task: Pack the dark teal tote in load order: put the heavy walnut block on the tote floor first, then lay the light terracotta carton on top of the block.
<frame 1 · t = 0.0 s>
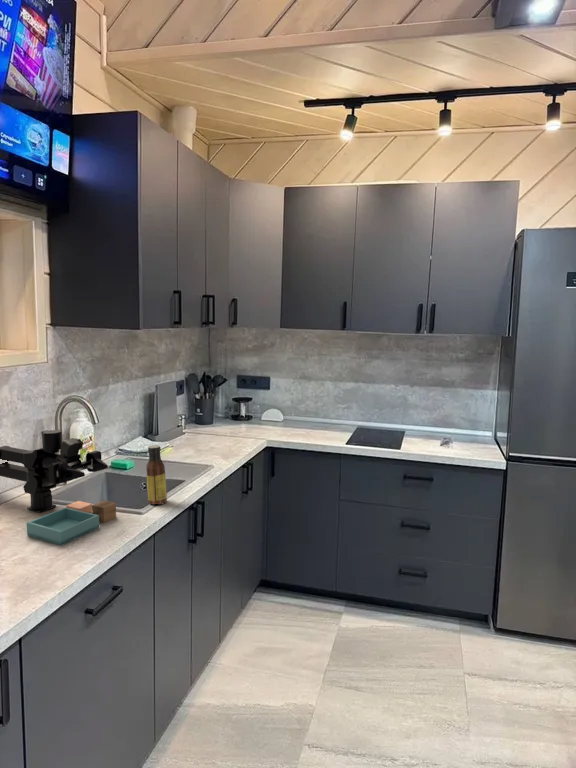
hand: (96, 470, 164), 17 cm above the counter, tool horizontal, fingers open, 9 cm apart
tote: (64, 531, 159), on the counter
walnut block: (104, 519, 169), on the counter
terracotta carton: (79, 513, 174), on the counter
sauce bottle: (157, 503, 184), on the counter
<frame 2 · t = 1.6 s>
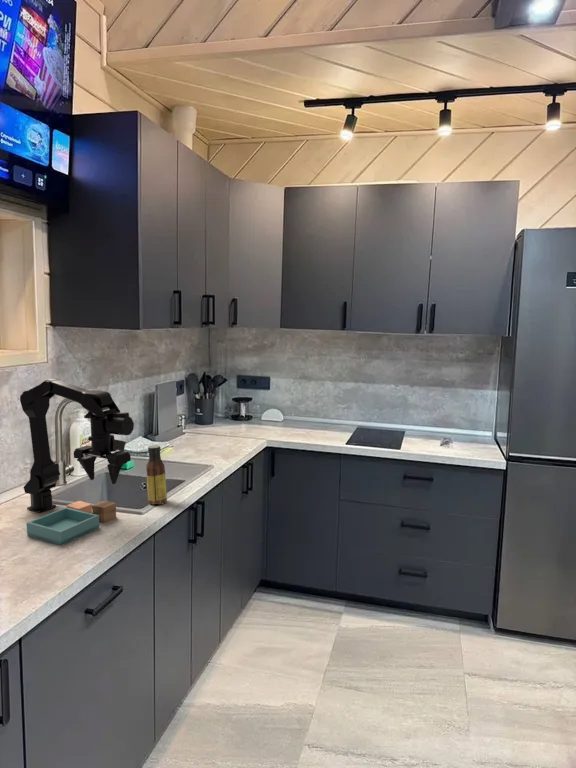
hand: (103, 481, 168), 12 cm above the counter, tool pointing down, fingers open, 9 cm apart
nothing on the counter moved.
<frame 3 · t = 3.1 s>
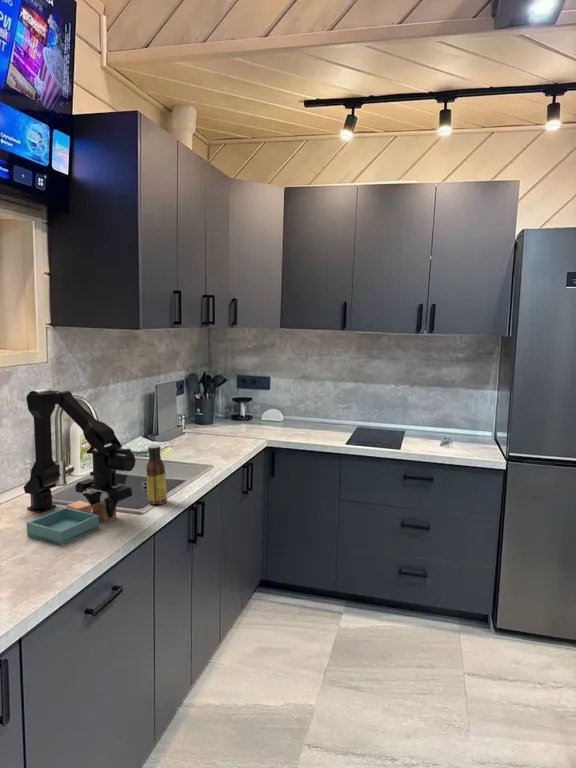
hand: (104, 515, 169), 1 cm above the counter, tool pointing down, fingers closed on walnut block, 5 cm apart
walnut block: (104, 518, 169), on the counter, touching gripper
everything else where it was.
when the fingers open (4 cm above the counter, at t = 7.4 s): walnut block drops 2 cm, resting on tote.
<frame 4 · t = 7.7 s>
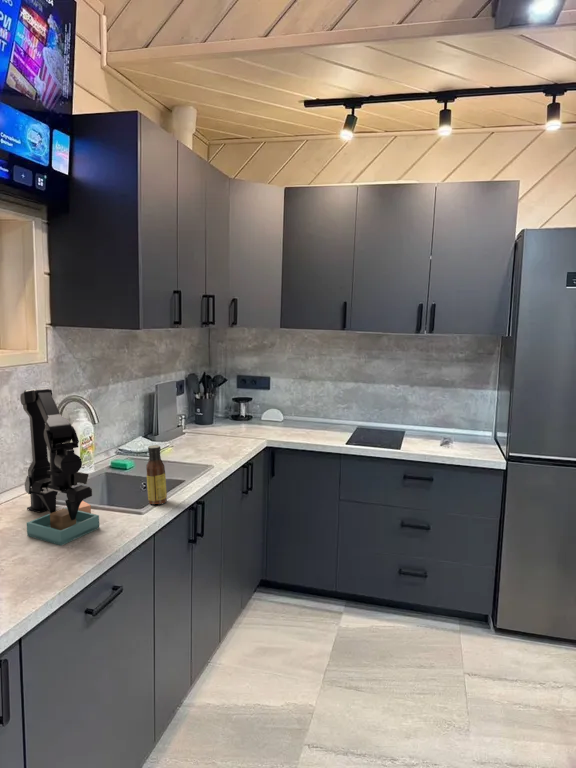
hand: (63, 517, 159), 4 cm above the counter, tool pointing down, fingers open, 8 cm apart
walnut block: (63, 528, 159), point 1 cm above the counter, touching tote
everything else where it was.
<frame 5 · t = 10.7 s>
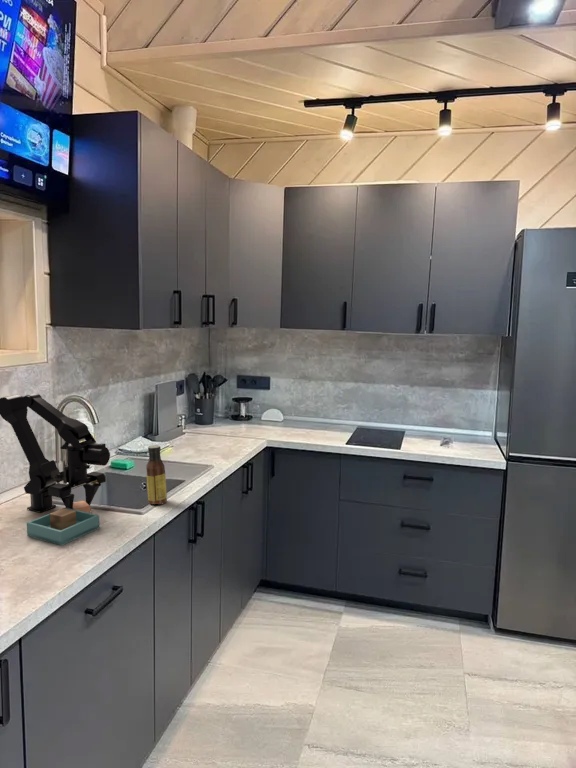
hand: (79, 509, 174), 1 cm above the counter, tool pointing down, fingers open, 7 cm apart
nothing on the counter moved.
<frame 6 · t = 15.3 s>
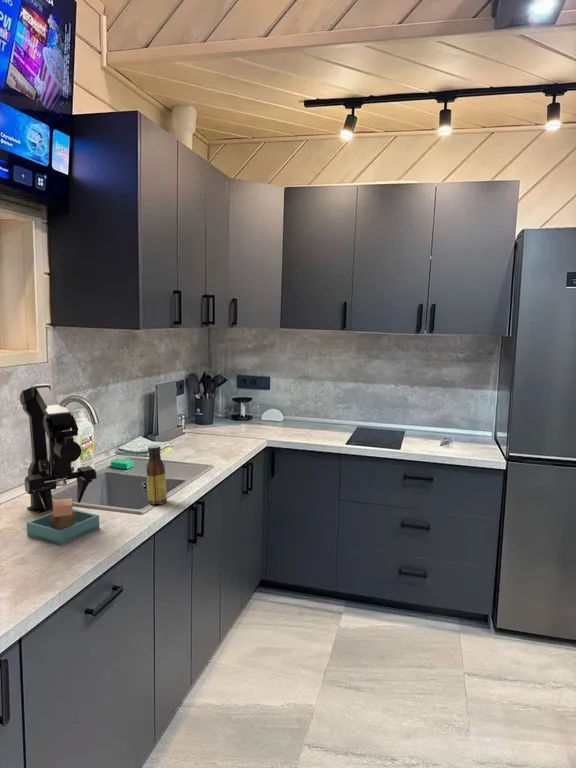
hand: (62, 505, 158), 8 cm above the counter, tool pointing down, fingers open, 9 cm apart
walnut block: (63, 528, 159), point 1 cm above the counter, touching terracotta carton, tote
terracotta carton: (63, 512, 158), point 6 cm above the counter, touching walnut block
everything else where it was.
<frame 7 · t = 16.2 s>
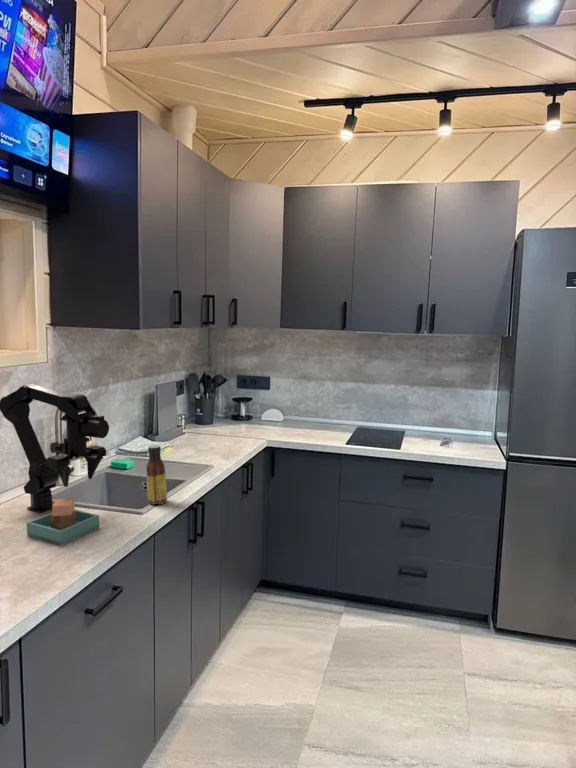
hand: (78, 482, 171), 11 cm above the counter, tool pointing down, fingers open, 9 cm apart
nothing on the counter moved.
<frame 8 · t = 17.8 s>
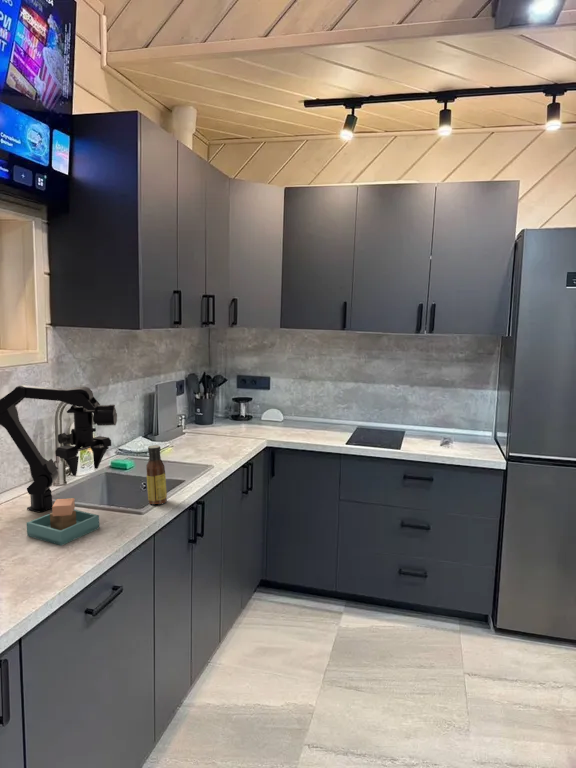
hand: (85, 471, 178), 12 cm above the counter, tool pointing down, fingers open, 9 cm apart
nothing on the counter moved.
at the end: walnut block inside the target area on the tote (0.1 cm from its centre), point 1.0 cm above the tote's base; terracotta carton 0.4 cm off-centre on the walnut block, point 5.0 cm above the walnut block's base; terracotta carton tilted 0° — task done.
